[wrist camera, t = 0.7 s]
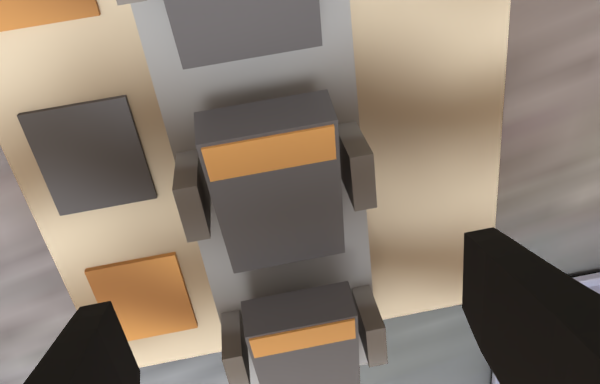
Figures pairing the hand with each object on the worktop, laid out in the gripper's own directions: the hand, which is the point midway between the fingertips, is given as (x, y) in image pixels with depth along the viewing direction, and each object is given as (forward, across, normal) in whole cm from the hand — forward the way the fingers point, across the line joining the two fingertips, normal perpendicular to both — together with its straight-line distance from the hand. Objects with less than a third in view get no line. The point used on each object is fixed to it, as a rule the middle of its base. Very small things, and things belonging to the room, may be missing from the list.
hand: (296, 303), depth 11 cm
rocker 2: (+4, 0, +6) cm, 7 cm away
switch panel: (+9, 0, 0) cm, 9 cm away
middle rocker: (+4, 0, 0) cm, 4 cm away
